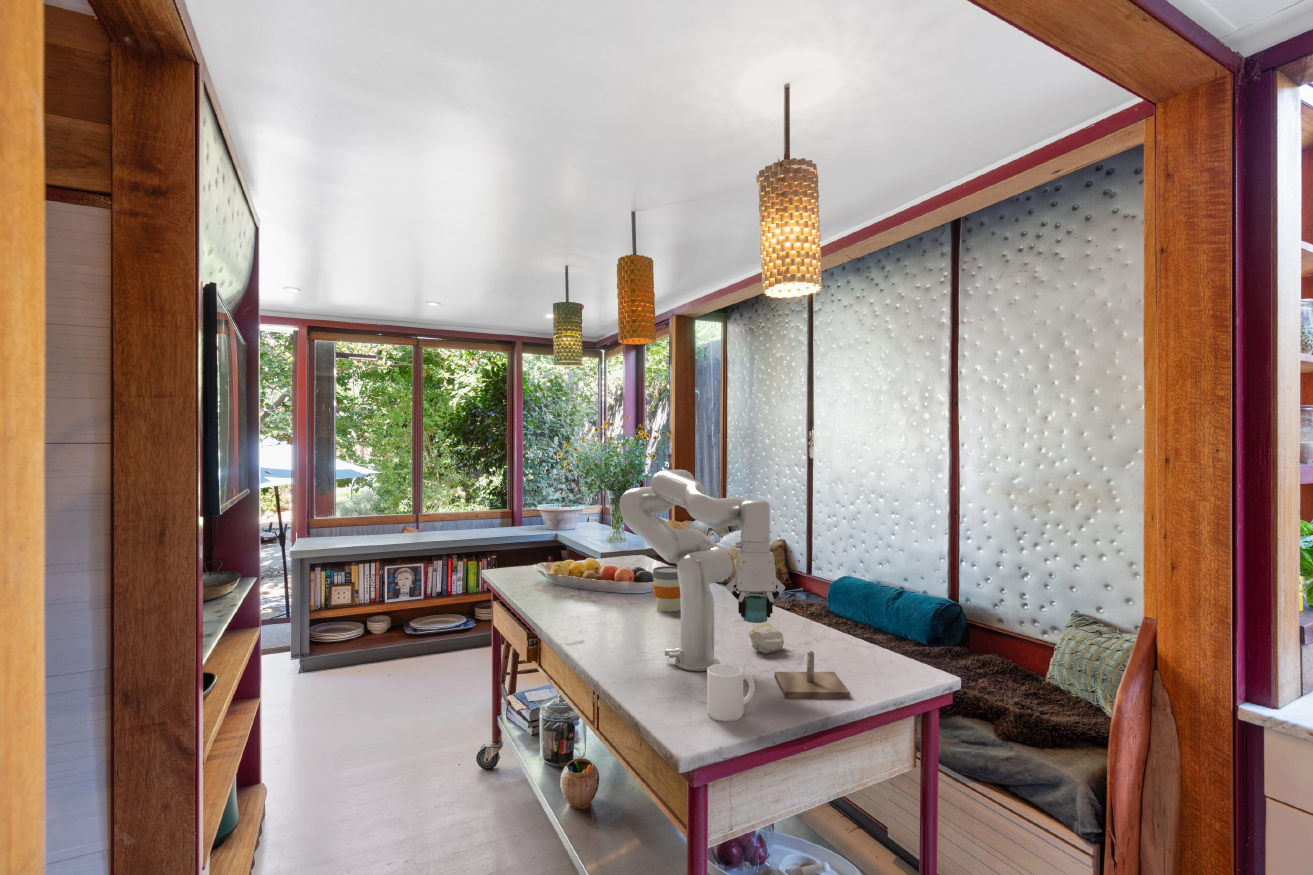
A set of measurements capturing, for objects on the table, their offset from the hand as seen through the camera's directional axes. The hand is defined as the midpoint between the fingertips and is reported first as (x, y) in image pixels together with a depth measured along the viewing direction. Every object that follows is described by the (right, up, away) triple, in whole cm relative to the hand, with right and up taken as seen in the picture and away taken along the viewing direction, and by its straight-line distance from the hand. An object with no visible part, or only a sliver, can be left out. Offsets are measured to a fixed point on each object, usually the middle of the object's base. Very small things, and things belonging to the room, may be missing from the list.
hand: (755, 615), depth 166 cm
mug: (-8, -18, -19) cm, 27 cm away
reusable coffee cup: (-21, -19, +75) cm, 80 cm away
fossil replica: (+8, -18, +26) cm, 33 cm away
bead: (0, -1, 0) cm, 1 cm away
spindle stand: (+14, -18, -3) cm, 22 cm away
